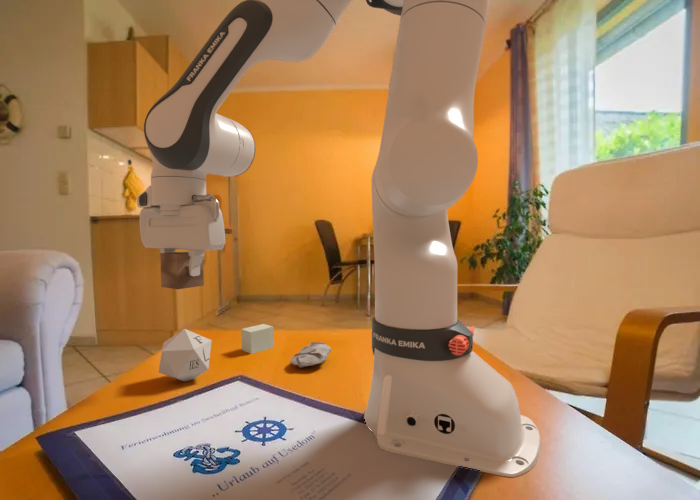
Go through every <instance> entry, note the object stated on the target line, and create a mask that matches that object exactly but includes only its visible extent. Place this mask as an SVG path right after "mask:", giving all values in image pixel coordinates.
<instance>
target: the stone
mask: <svg viewBox="0 0 700 500" xmlns="http://www.w3.org/2000/svg"><path fill="white" fill-rule="evenodd" d="M331 352H332V348H331V347H330V346H329V345H327V344H326V343H325V342H320V341H318V342H317V341H311V343H309V344H308V345H305V346H304V347H302V348H301V349H300V351H298V353H296V354H294V356H292V357H290V359H289V361H290V364H293V365H295V366H298V368H307V367H309V366H315V365H320V364H323V363H324V362H325V361H326V360H327V359H328V355H329V354H330V353H331Z"/></svg>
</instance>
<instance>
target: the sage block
mask: <svg viewBox="0 0 700 500" xmlns="http://www.w3.org/2000/svg"><path fill="white" fill-rule="evenodd" d="M274 332H275V331H274V326H272V325H269V324H267V323H261V324H257V325H252V326H249V327H243V328H241V335H240V336H241V350H242V351H243V352H245V353H249V354H250V355H253V354H257V353H260V352H263V351H266V350H270V349H274V348H275V340H274V339H275V338H274V335H275V334H274Z"/></svg>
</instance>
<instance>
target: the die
mask: <svg viewBox="0 0 700 500" xmlns="http://www.w3.org/2000/svg"><path fill="white" fill-rule="evenodd" d="M211 350H212V339H210V338H207V337H205V336H202V335H200V334H197V333H195V332H193V331H191V330H188V329H186V328H183V329H181V330H180V331H179V332H177V333H176V334H174V335H173V336H171V337H170V338H168V339H167V340H166V341H164V342H163V344H162V348H161V355H160V361H159V366H158V373H159V374H162V375H165V376H167V377H170V378H173V379H175V380H178V381H181V382H184V383H185V382H190V381H192V380H194V379H195V378H197V377H199V376H200V375H202V374H203V373H205V372H207V371H208V370H209V367H210V358H211Z"/></svg>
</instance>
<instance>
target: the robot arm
mask: <svg viewBox="0 0 700 500" xmlns="http://www.w3.org/2000/svg"><path fill="white" fill-rule="evenodd" d="M352 1H353V0H243V1H241V2H240V3H238V4H237V5H236V6H234V7H233V8H232V9H231V10H230V11H229V12H228V14H227V15H226V16H225V17H224V19H222V21H221V22H220V23H219V24H218V26H217V27H216V29H215V30H214V31H213V33H212V34H211V36H210V37H209V38H208V40H207V41H206V42H205V44H203V46H202V48H201V49H200V50H199V51H198V53H197V55H196V56H195V57H194V59H193V60H192V61H191V62H190V63H189V65H188V66H187V68H186V69H185V70H184V71H183V73H182V75H181V76H180V77H179V79H178V80H176V83H175V84H173V86H172V87H171V88H170V89H169V90H168V91H167V92H166V93H164V94H163V95H162V96H161V97H160V98H159V99H158V100H156V102H155V103H154V104H153V105H152V106H151V107H150V109H149V111H148V112H147V114H146V117H145V120H144V123H143V133H144V134H143V135H144V139H145V142H146V145H147V146H148V149H149V156H150V158H151V161H152V169H151V173H150V185H149V186H147V188H146V189H145V190H144V191H143V192H142V193H140V194H139V195H138V196H137V198H136V205H137V207H138V208H141V210H140V212H139V234H140V240H141V242H142V245H143V247H144V248H146V249H149V248H150V249H159V254H160V253H172V252H176V250H188V251H187V252H188V253H189V256H191V258H190V262H189V266H186V275H188V276H198V275H200V265H201V263H202V260H203V261H204V257H205V251H219V250H223V249H224V247H225V245H226V232H225V231H226V230H225V223H224V217H223V212H222V210H221V208H220V202H219V201H218V199H217V198H216V197H215V195H213V194H211V193H210V194H209V193H207V175H215V176H221V177H238V176H241V175H243V174H244V173H246V172H247V171H248V170H249V169H250V167H251V166H252V164H253V162H254V159H255V156H256V141H255V140H254V136H253V134H252V133H251V131H250V130H249V129H248V128H247V127H246V126H244V125H242V124H240V122H237V121H236V120H234V119H231V118H229V117H227V116H224V115H221V114H219V113H217V112H218V110H219V109H220V107H221V106H222V105H223V103H224V102H225V101H226V99H228V97H229V96H230V94H231V92H232V91H233V90H234V89H235V87H236V86H237V84H238V83H239V82H240V80H242V78H243V77H244V75H245V74H246V73H247V72H248V70H249V69H251V68H252V67H254V66H255V65H257V64H259V63H262V62H266V61H279V62H286V63H301V62H305V61H307V60H310V59H312V58H313V57H314V56H315V55H317V53H318V52H319V51H320V50H321V49H322V48H323V47H324V46H325V44H326V42H327V41H328V39H329V38H330V36H331V35H332V33H333V32H334V29H335V28H336V26H337V25H338V23H339V22H340V19H341V18H342V16H343V15H344V12H345V11H346V9H347V7H349V6H350V4H351V3H352ZM365 2H366V4H367V5H368V6H369V7H371V8H373V9H382V10H385V11H386V12H388V13H390V14H393V15H396V16H400V19H399V23H398V30H397V35H396V40H395V41H396V42H395V48H394V54H393V59H392V60H393V61H392V65H391V71H390V76H389V77H390V78H389V84H388V92H387V100H386V107H385V114H384V120H383V127H382V133H381V140H380V144H379V145H380V147H379V151H378V155H377V160H376V162H375V165H374V168H373V171H372V175H371V211H372V235H373V236H372V237H373V239H372V240H373V254H374V255H373V257H374V317H373V318H372V319H371V349H372V355H373V365H372V366H373V367H372V375H371V376H372V377H371V384H370V389H369V390H370V391H369V396H368V400H367V405H366V408H365V411H364V413H363V420H364V419H365V421H364V423H365V422H366V424H367V426H368V427H369V428H370V429H371V430H372V432H373V433H374V434H375V435H376V436H375V435H374V434H373V433H372V432H371V433H372V434H373V435H374V436H375V440H376V439H377V440H376V444H377V446H379V447H380V448H381V449H380V448H379V447H378V448H379V449H380V450H382V449H383V450H382V451H384V450H385V451H384V452H388V451H391V452H390V453H393V454H397V453H398V454H397V455H402V456H407V457H412V458H417V459H421V460H427V461H431V462H436V463H440V464H445V465H449V464H452V465H451V466H453V465H457V466H456V467H458V466H463V467H468V468H473V469H477V470H480V471H479V472H483V473H488V474H492V475H497V476H502V477H504V478H506V477H507V478H517V477H519V476H522V475H524V474H526V473H528V472H529V471H530V470H531V469H533V468H534V467H535V465H536V463H537V462H538V460H539V457H540V455H541V451H542V450H541V447H542V446H541V445H542V444H541V435H540V431H539V429H538V427H537V425H536V424H535V422H534V421H533V420H532V419H531V418H529V417H528V416H525V415H522V414H521V410H520V405H519V399H518V397H517V394H516V393H517V392H516V391H515V389H514V387H513V385H512V383H511V382H510V381H509V380H508V379H507V378H505V377H504V376H503V375H501V374H500V373H499V372H497V370H496V369H494V368H493V367H492V366H491V365H489V363H487V362H486V361H485V360H483V359H482V357H480V356H479V355H478V354H477V353H476V352H474V351H473V346H474V343H473V342H474V340H473V338H474V336H475V326H474V325H472V326H470V328H468V327H467V326H466V325H465V324H463V323H462V322H461V321H460V320H459V319H458V270H459V269H458V267H459V266H458V260H457V256H456V254H455V250H454V247H453V241H452V236H451V231H450V224H449V217H448V210H449V209H451V208H452V207H453V206H454V205H456V203H458V202H459V201H460V200H461V198H463V196H464V195H465V194H466V193H467V191H468V190H469V188H470V186H471V185H472V183H473V182H474V179H475V177H476V174H477V170H478V165H479V164H478V162H479V155H478V150H477V145H476V143H475V141H474V140H475V139H474V137H475V119H474V118H475V111H474V110H475V93H476V92H475V91H476V90H475V89H476V85H477V77H478V73H479V67H480V61H481V56H482V51H483V46H484V45H483V44H484V39H485V34H486V28H487V22H488V16H489V8H490V0H365ZM366 424H365V425H366ZM367 426H366V427H367ZM465 460H467V461H465ZM463 467H462V468H463ZM468 468H467V469H468ZM477 470H476V471H477Z"/></svg>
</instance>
